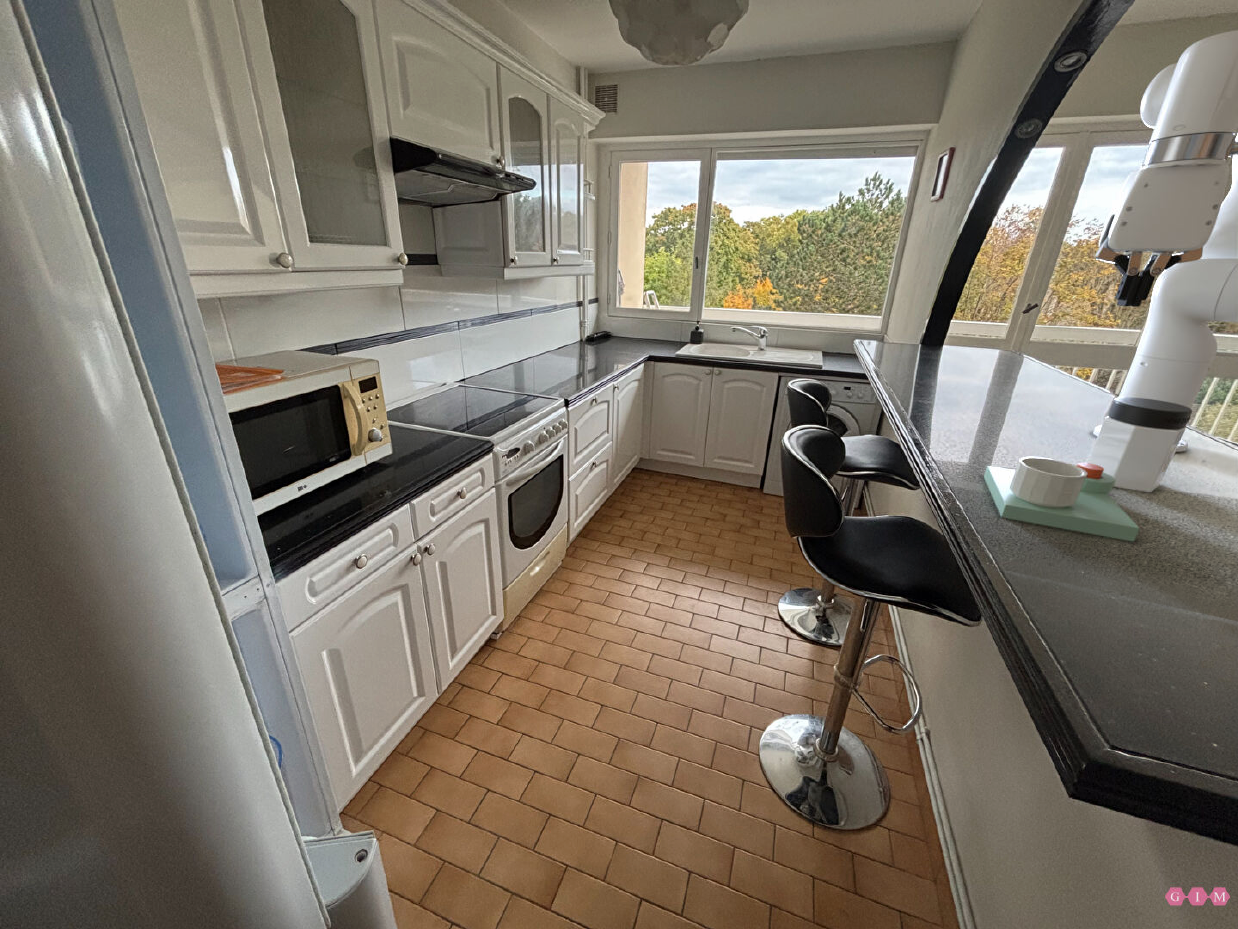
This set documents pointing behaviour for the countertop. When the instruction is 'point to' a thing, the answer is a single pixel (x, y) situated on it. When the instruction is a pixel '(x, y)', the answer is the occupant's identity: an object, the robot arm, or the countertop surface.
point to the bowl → (1047, 482)
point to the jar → (1139, 441)
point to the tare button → (1092, 470)
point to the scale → (1087, 515)
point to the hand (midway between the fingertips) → (1127, 305)
